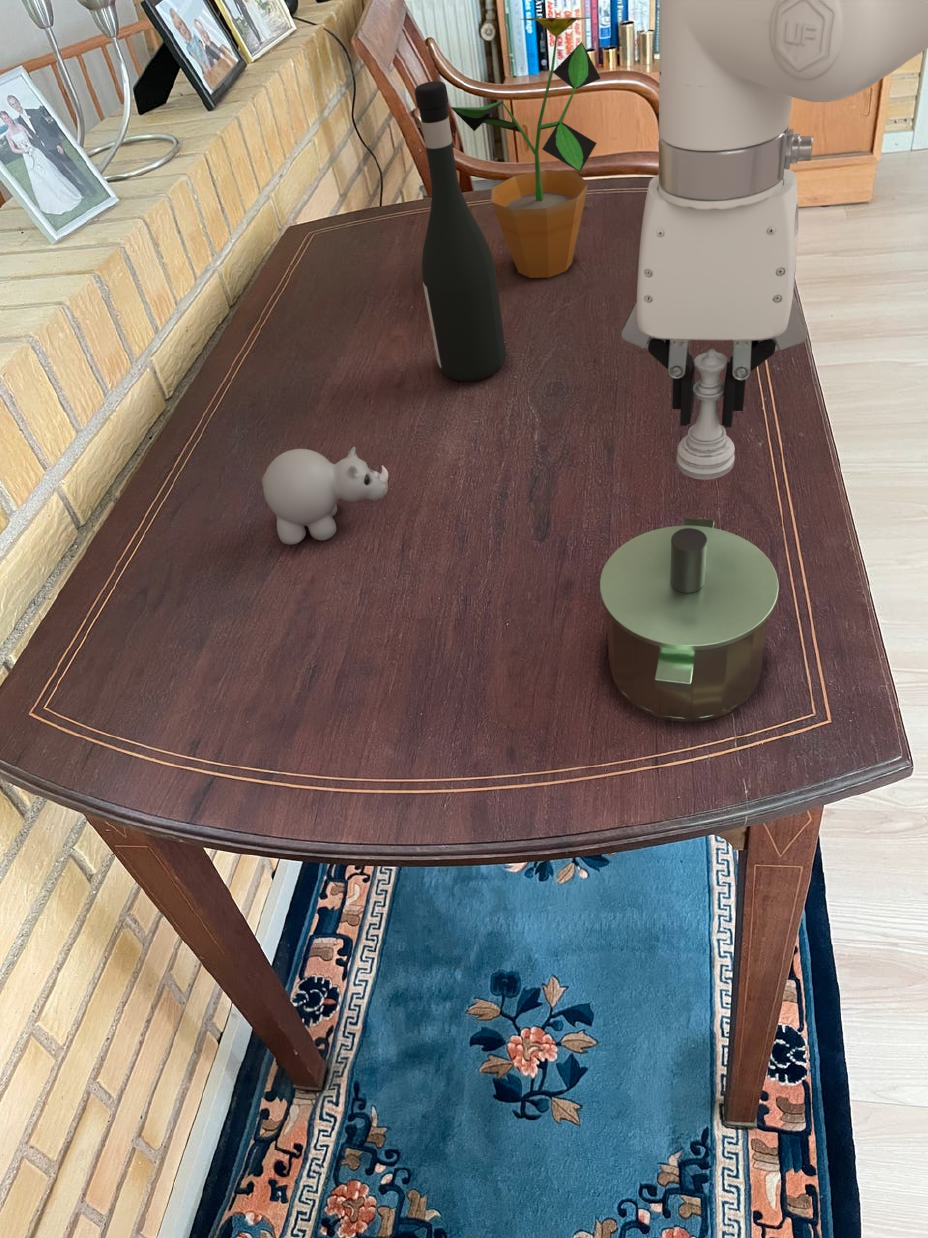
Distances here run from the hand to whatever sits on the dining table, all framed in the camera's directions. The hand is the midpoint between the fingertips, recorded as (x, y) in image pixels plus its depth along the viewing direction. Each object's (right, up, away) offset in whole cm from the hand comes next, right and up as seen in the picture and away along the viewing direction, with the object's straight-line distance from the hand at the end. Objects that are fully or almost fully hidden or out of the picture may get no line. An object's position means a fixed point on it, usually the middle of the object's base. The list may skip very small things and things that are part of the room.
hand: (707, 414), depth 69 cm
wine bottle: (-17, +14, +39) cm, 45 cm away
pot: (-1, -19, +3) cm, 19 cm away
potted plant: (-7, +32, +55) cm, 64 cm away
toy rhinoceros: (-31, -6, +22) cm, 38 cm away
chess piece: (+1, -3, +3) cm, 5 cm away
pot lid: (-2, -13, -3) cm, 14 cm away
